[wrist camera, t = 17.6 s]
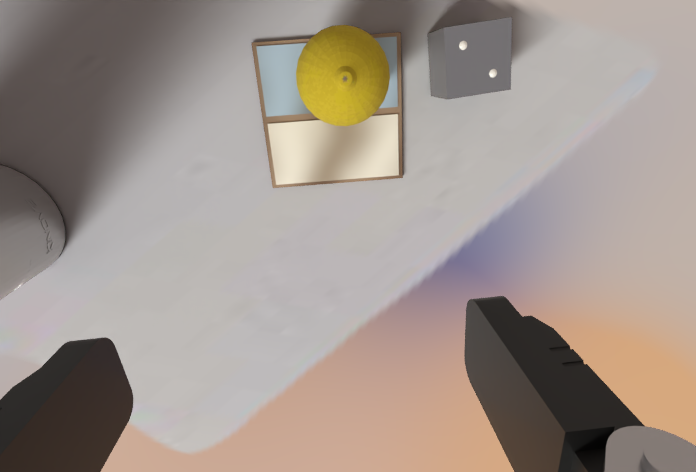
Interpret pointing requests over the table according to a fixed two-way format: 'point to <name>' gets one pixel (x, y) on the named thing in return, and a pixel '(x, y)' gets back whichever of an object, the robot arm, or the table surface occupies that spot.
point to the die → (470, 59)
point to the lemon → (342, 75)
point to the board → (325, 124)
